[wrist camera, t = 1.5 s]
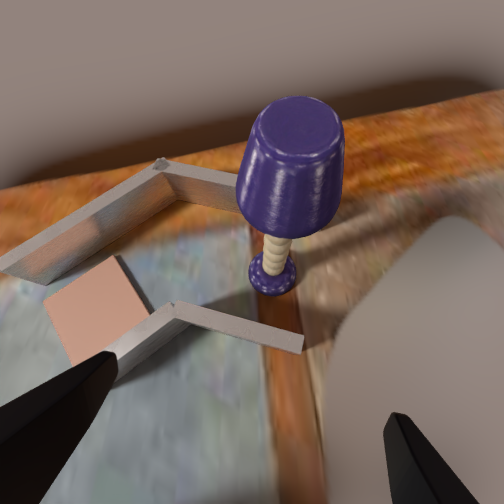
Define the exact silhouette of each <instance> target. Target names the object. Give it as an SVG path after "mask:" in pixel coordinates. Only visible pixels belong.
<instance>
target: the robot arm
mask: <svg viewBox="0 0 504 504" xmlns="http://www.w3.org/2000/svg"><path fill="white" fill-rule="evenodd" d="M118 372H119V368H118V362H117V356H116V354H115V353H114V352H110V351H101V352H99V353H97V354H96V355H94V356H92V357H90V358H88V359H86V360H85V361H83V362H81V363H79V364H77V365H76V366H74V367H72V368H70V369H68V370H67V371H65V372H63V373H61V374H59V375H57V376H56V377H54V378H52V379H50V380H48V381H47V382H45V383H43V384H41V385H39V386H38V387H36V388H34V389H32V390H30V391H28V392H27V393H25V394H23V395H21V396H19V397H18V398H16V399H14V400H12V401H10V402H9V403H7V404H5V405H3V406H1V407H0V504H39V503H40V502H41V500H42V499H43V497H44V496H45V494H46V492H47V491H48V489H49V488H50V486H51V485H52V483H53V482H54V480H55V479H56V477H57V476H58V474H59V473H60V471H61V470H62V468H63V467H64V465H65V464H66V462H67V461H68V459H69V457H70V456H71V454H72V453H73V451H74V450H75V448H76V447H77V445H78V444H79V442H80V441H81V439H82V438H83V436H84V435H85V433H86V432H87V430H88V428H89V427H90V425H91V424H92V422H93V420H94V419H95V417H96V415H97V413H98V411H99V409H100V408H101V406H102V404H103V402H104V400H105V398H106V396H107V395H108V393H109V391H110V389H111V387H112V385H113V383H114V381H115V380H116V378H117V375H118ZM383 437H384V445H385V453H386V461H387V468H388V476H389V484H390V491H391V497H392V502H393V504H479V503H478V502H477V500H476V499H475V498H474V497H473V495H472V494H471V493H470V492H469V490H468V489H467V488H466V487H465V486H464V484H463V483H462V482H461V480H460V479H459V478H458V477H457V476H456V474H455V473H454V472H453V471H452V469H451V468H450V467H449V466H448V465H447V463H446V462H445V461H444V460H443V458H442V457H441V456H440V455H439V453H438V452H437V451H436V450H435V448H434V447H433V446H432V445H431V443H430V442H429V441H428V440H427V438H426V437H425V436H424V435H423V434H422V432H421V431H420V430H419V429H418V427H417V426H416V425H415V424H414V422H413V421H412V420H411V419H410V418H409V417H408V416H407V415H405V414H401V413H396V412H393V413H391V415H390V417H389V419H388V421H387V423H386V425H385V428H384V431H383Z"/></svg>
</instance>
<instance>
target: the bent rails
mask: <svg viewBox="0 0 504 504" xmlns="http://www.w3.org/2000/svg"><path fill="white" fill-rule="evenodd" d="M237 176H238V175H237V174H232V173H227V172H222V171H217V170H212V169H208V168H203V167H198V166H193V165H188V164H183V163H178V162H173V161H168V160H166V159H165V158H164V157H163V158H161V159H157V160H156V162H155V163H153V164H152V165H150V166H148V167H147V168H145V169H143V170H142V171H140V172H138V173H137V174H135V175H134V176H132V177H130V178H129V179H127V180H125V181H124V182H122V183H120V184H119V185H117V186H116V187H114V188H112V189H111V190H109V191H107V192H106V193H104V194H103V195H101V196H99V197H98V198H96V199H94V200H93V201H91V202H89V203H88V204H86V205H85V206H83V207H81V208H80V209H78V210H76V211H75V212H73V213H71V214H70V215H68V216H67V217H65V218H63V219H62V220H60V221H58V222H57V223H55V224H53V225H52V226H50V227H49V228H47V229H45V230H44V231H42V232H40V233H39V234H37V235H35V236H34V237H32V238H31V239H29V240H27V241H26V242H24V243H22V244H21V245H19V246H18V247H16V248H14V249H13V250H11V251H9V252H8V253H6V254H4V255H3V256H1V257H0V272H2V273H5V274H8V275H12V276H15V277H18V278H21V279H24V280H28V281H31V282H34V283H37V284H40V285H44V286H46V285H47V284H49V283H50V282H52V281H54V280H55V279H57V278H58V277H60V276H61V275H63V274H64V273H66V272H67V271H69V270H70V269H72V268H73V267H75V266H77V265H78V264H80V263H81V262H83V261H84V260H86V259H87V258H89V257H90V256H92V255H93V254H95V253H97V252H98V251H100V250H101V249H103V248H104V247H106V246H107V245H109V244H110V243H112V242H113V241H115V240H116V239H118V238H120V237H121V236H123V235H124V234H126V233H127V232H129V231H130V230H132V229H133V228H135V227H136V226H138V225H139V224H141V223H143V222H144V221H146V220H147V219H149V218H150V217H152V216H153V215H155V214H156V213H158V212H159V211H161V210H162V209H164V208H166V207H167V206H169V205H170V204H172V203H173V202H175V201H176V200H182V201H187V202H191V203H195V204H200V205H204V206H209V207H213V208H218V209H222V210H227V211H231V212H236V213H240V214H242V213H241V211H240V209H239V206H238V204H237V200H236V188H235V187H236V181H237ZM319 231H321V230H319ZM190 325H195V326H198V327H201V328H205V329H208V330H212V331H215V332H218V333H222V334H225V335H229V336H232V337H236V338H239V339H242V340H246V341H249V342H253V343H256V344H259V345H263V346H266V347H270V348H273V349H277V350H280V351H283V352H287V353H290V354H294V355H301V351H302V346H303V341H304V335H300V334H297V333H293V332H289V331H286V330H282V329H279V328H275V327H272V326H268V325H265V324H261V323H257V322H254V321H250V320H247V319H243V318H240V317H236V316H233V315H229V314H225V313H222V312H218V311H215V310H211V309H208V308H204V307H201V306H197V305H193V304H190V303H186V302H183V301H179V300H176V303H175V304H173V303H171V302H168V303H166V304H165V305H163V306H162V307H161V308H159V309H158V310H157V311H155V312H154V313H152V314H151V315H150V316H148V317H147V318H146V319H144V320H143V321H141V322H140V323H139V324H137V325H136V326H134V327H133V328H132V329H130V330H129V331H128V332H126V333H125V334H123V335H122V336H121V337H119V338H118V339H117V340H115V341H114V342H112V343H111V344H110V345H108V346H107V347H106V348H104V349H103V350H101V351H110V352H114V353H115V354H116V356H117V362H118V368H119V372H118V375H117V378H116V380H115V381H114V383H115V382H116V381H117V380H119V379H120V378H121V377H123V376H124V375H125V374H127V373H128V372H129V371H131V370H132V369H133V368H135V367H136V366H137V365H139V364H140V363H141V362H143V361H144V360H145V359H147V358H148V357H149V356H150V355H152V354H153V353H154V352H156V351H157V350H158V349H160V348H161V347H162V346H164V345H165V344H166V343H168V342H169V341H170V340H172V339H173V338H174V337H176V336H177V335H178V334H179V333H181V332H182V331H183V330H185V329H186V328H187V327H189V326H190ZM101 351H100V352H101ZM114 383H113V384H114Z"/></svg>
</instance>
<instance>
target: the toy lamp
mask: <svg viewBox="0 0 504 504" xmlns="http://www.w3.org/2000/svg"><path fill="white" fill-rule="evenodd" d="M344 146H345V138H344V129H343V125H342V122H341V120H340V118H339V116H338V114H337V113H336V112H335V111H334V110H333V109H332V108H331V107H330V106H328V105H327V104H326V103H324V102H322V101H320V100H318V99H315V98H311V97H307V96H289V97H284V98H281V99H278V100H276V101H274V102H272V103H271V104H269V105H268V106H266V107H265V108H264V109H263V110H262V111H261V113H260V114H259V115H258V117H257V119H256V121H255V123H254V124H253V127H252V130H251V133H250V136H249V140H248V143H247V146H246V149H245V153H244V156H243V159H242V162H241V166H240V169H239V173H238V176H237V181H236V187H235V188H236V200H237V204H238V206H239V209H240V211H241V213H242V214H243V216H244V217H245V219H246V220H247V221H248V222H249V223H250V224H251V225H252V226H253V227H254V228H256V229H257V230H259V231H261V232H263V233H264V234H265V236H264V248H263V251H262V252H260V253H259V254H257V255H256V256H255V257H254V258H253V260H252V261H251V263H250V266H249V280H250V282H251V284H252V286H253V287H254V288H255V289H256V290H257V291H258V292H260V293H262V294H264V295H267V296H279V295H282V294H284V293H286V292H287V291H289V290H290V289H291V288H292V286H293V284H294V282H295V280H296V267H295V264H294V262H293V260H292V259H291V258H290V257H289V256H288V254H289V248H290V247H291V243H292V239H296V238H301V237H306V236H309V235H312V234H313V233H315V232H317V231H319V230H321V229H322V228H323V227H325V226H326V225H327V224H328V223H329V222H330V221H331V219H332V218H333V216H334V215H335V213H336V211H337V209H338V206H339V203H340V199H341V194H342V180H343V168H344Z"/></svg>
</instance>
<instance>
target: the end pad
mask: <svg viewBox="0 0 504 504" xmlns="http://www.w3.org/2000/svg"><path fill="white" fill-rule="evenodd" d="M43 303H44V306H45V308H46V310H47V312H48V314H49V316H50V318H51V321H52V323H53V325H54V327H55V329H56V331H57V333H58V336H59V338H60V340H61V342H62V344H63V346H64V348H65V351H66V353H67V355H68V357H69V359H70V361H71V363H72V365H73V367H74V366H76V365H77V364H79V363H81V362H83V361H85V360H86V359H88V358H90V357H92V356H94V355H96V354H97V353H99V352H100V351H101V350H103V349H104V348H106V347H107V346H108V345H110V344H111V343H112V342H114V341H115V340H117V339H118V338H119V337H121V336H122V335H123V334H125V333H126V332H128V331H129V330H130V329H132V328H133V327H134V326H136V325H137V324H139V323H140V322H141V321H143V320H144V319H146V318H147V317H148V316H150V315H151V314H150V313H149V311H148V309H147V308H146V306H145V304H144V303H143V301H142V300H141V298H140V296H139V295H138V293H137V291H136V290H135V288H134V287H133V285H132V283H131V282H130V280H129V278H128V277H127V275H126V273H125V272H124V270H123V269H122V267H121V265H120V264H119V262H118V260H117V259H116V257H115V256H114V255H112V256H111V257H109V258H108V259H106V260H105V261H103V262H102V263H100V264H99V265H97V266H95V267H94V268H92V269H91V270H89V271H88V272H86V273H85V274H83V275H82V276H80V277H79V278H77V279H76V280H74V281H73V282H71V283H70V284H68V285H67V286H65V287H64V288H62V289H61V290H59V291H58V292H56V293H55V294H53V295H52V296H50V297H49V298H47V299H46V300H44V301H43Z"/></svg>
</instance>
